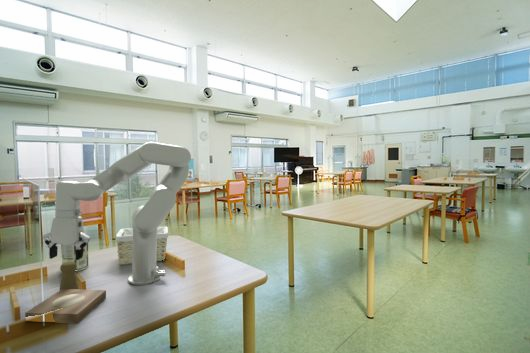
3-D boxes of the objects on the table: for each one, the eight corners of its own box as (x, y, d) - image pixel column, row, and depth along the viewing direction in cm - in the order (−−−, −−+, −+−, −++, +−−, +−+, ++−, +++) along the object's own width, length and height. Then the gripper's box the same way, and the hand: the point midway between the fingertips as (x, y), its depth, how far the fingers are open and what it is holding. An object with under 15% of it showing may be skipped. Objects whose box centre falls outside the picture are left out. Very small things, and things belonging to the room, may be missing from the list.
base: (106, 298, 103) (106, 289, 103) (77, 323, 87) (77, 313, 87) (62, 296, 103) (62, 288, 102) (25, 322, 87) (25, 312, 86)
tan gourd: (68, 295, 104) (68, 266, 103) (54, 293, 105) (54, 264, 105) (82, 288, 110) (81, 260, 109) (69, 286, 111) (68, 259, 110)
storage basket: (114, 266, 133) (114, 235, 132) (120, 255, 148) (120, 227, 147) (167, 262, 141) (168, 233, 140) (168, 251, 156) (168, 225, 155)
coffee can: (71, 263, 134) (71, 234, 134) (93, 264, 135) (93, 235, 134) (56, 272, 124) (55, 240, 123) (79, 272, 124) (79, 241, 124)
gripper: (96, 213, 110) (94, 256, 110) (51, 210, 109) (50, 253, 110) (84, 216, 102) (82, 262, 103) (36, 214, 102) (35, 260, 103)
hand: (66, 258), depth 106 cm, fingers open, 9 cm apart
